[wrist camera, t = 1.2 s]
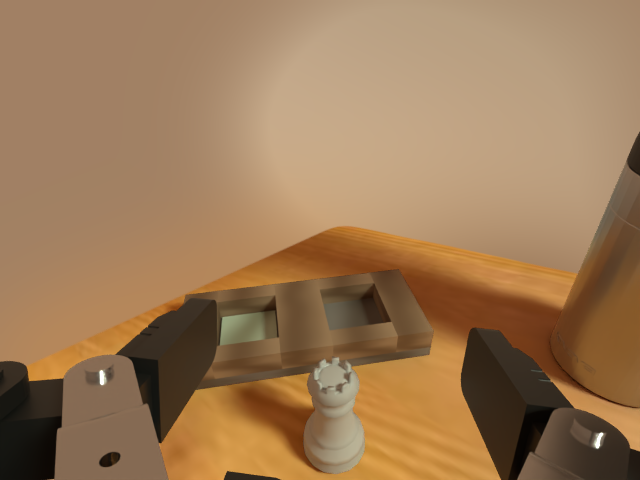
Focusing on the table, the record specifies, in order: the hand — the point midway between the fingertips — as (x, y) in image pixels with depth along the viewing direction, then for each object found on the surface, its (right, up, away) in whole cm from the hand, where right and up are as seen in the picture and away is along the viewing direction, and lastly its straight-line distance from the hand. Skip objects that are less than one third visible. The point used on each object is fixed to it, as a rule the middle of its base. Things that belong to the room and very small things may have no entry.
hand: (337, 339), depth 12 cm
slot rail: (-2, -6, +24) cm, 25 cm away
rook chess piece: (0, -12, +15) cm, 19 cm away
